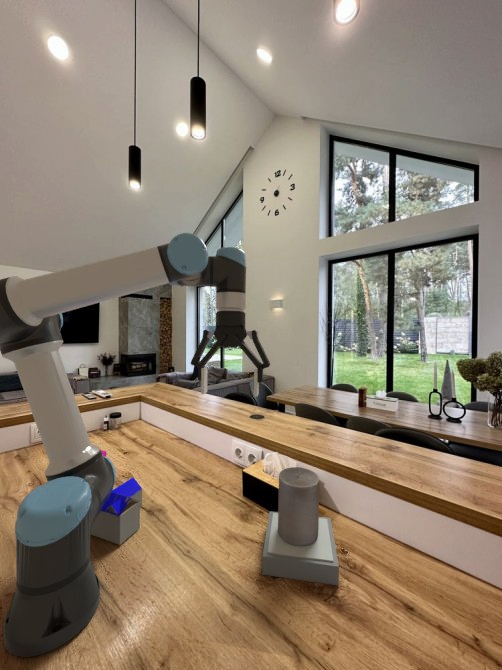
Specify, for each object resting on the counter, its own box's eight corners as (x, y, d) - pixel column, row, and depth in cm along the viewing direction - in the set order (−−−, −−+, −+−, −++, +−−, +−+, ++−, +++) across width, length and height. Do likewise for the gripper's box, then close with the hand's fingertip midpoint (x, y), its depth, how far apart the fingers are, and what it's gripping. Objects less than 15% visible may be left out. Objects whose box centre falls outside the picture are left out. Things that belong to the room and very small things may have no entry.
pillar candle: (290, 514, 77) (291, 458, 77) (325, 530, 71) (326, 469, 71) (269, 534, 69) (270, 472, 69) (306, 554, 63) (307, 485, 63)
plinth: (338, 585, 61) (338, 565, 60) (262, 574, 63) (262, 554, 63) (330, 533, 76) (330, 516, 76) (269, 525, 79) (269, 510, 79)
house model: (50, 520, 81) (50, 484, 81) (97, 492, 95) (97, 462, 95) (119, 545, 72) (119, 505, 71) (159, 510, 85) (159, 477, 85)
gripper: (280, 311, 76) (279, 393, 76) (189, 311, 80) (188, 389, 80) (278, 309, 68) (277, 400, 68) (178, 309, 72) (177, 395, 72)
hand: (229, 394), depth 74 cm, fingers open, 13 cm apart
